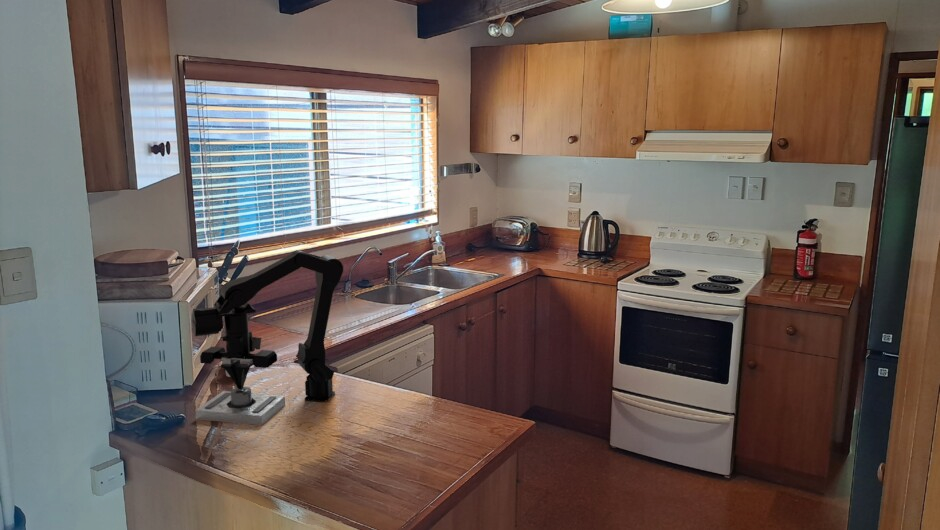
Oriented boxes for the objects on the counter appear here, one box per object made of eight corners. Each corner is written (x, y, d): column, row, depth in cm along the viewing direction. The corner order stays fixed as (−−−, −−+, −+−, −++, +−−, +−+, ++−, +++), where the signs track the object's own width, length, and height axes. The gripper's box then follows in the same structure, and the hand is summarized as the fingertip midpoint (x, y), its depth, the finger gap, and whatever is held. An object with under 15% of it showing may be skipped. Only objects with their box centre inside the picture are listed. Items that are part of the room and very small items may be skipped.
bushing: (255, 409, 179) (254, 387, 177) (246, 416, 174) (244, 394, 173) (238, 407, 179) (236, 385, 178) (228, 415, 175) (226, 393, 173)
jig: (285, 404, 181) (284, 395, 181) (261, 425, 169) (261, 414, 168) (223, 399, 184) (222, 390, 184) (196, 419, 172) (195, 408, 171)
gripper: (285, 324, 178) (288, 380, 181) (220, 320, 182) (224, 375, 185) (265, 336, 168) (268, 395, 171) (196, 332, 171) (201, 390, 174)
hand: (240, 388), depth 175 cm, fingers closed
